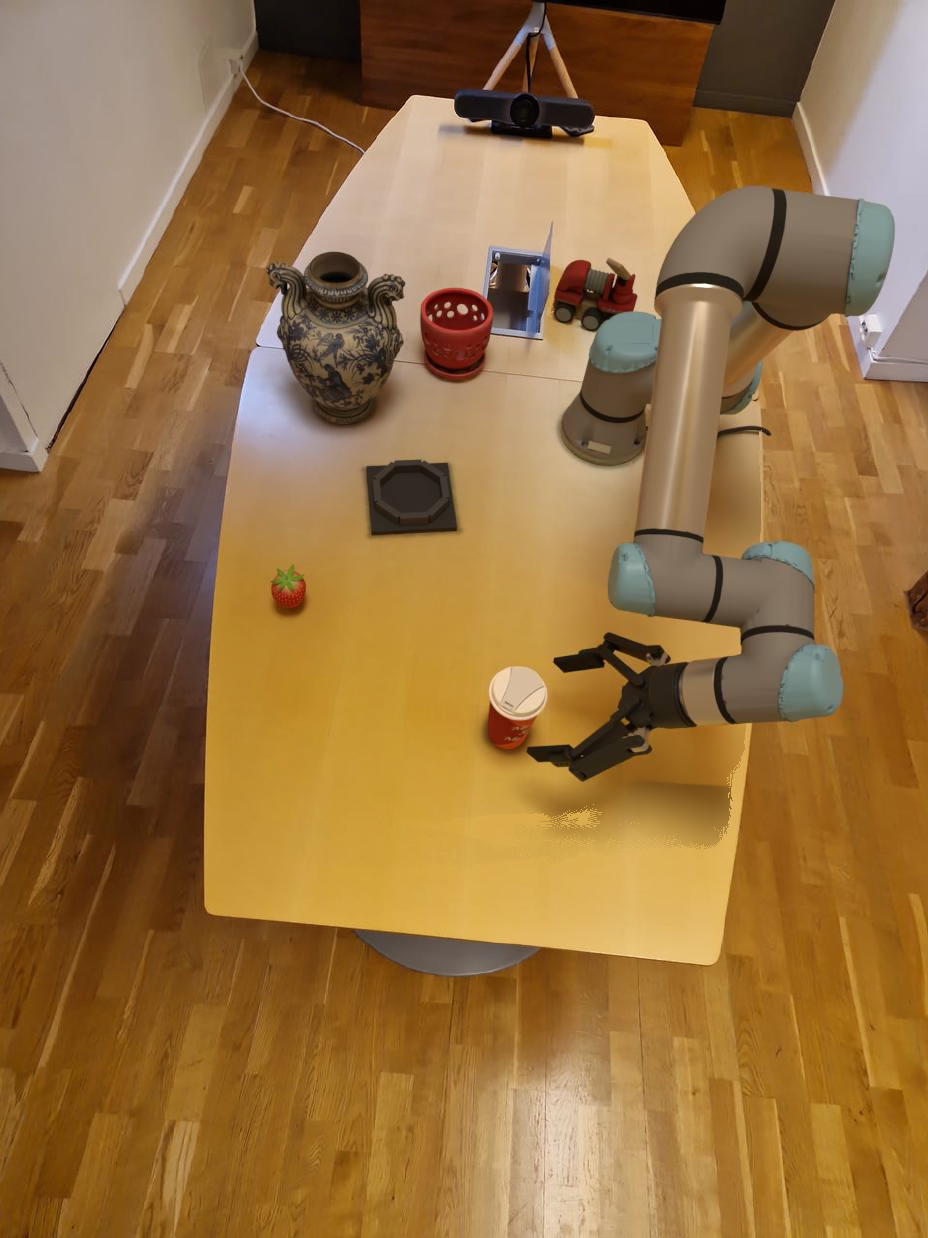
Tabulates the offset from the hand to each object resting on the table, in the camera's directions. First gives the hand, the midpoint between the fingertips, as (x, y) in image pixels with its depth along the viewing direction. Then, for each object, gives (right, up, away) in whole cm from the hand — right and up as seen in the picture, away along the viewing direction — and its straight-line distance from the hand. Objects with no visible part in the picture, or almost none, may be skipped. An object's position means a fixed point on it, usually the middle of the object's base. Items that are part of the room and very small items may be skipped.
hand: (546, 708), depth 107 cm
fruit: (-37, +14, +18) cm, 44 cm away
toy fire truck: (+14, +71, +57) cm, 92 cm away
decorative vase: (-32, +51, +41) cm, 73 cm away
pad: (-20, +32, +30) cm, 48 cm away
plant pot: (-13, +61, +48) cm, 79 cm away
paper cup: (-5, -4, +10) cm, 12 cm away
